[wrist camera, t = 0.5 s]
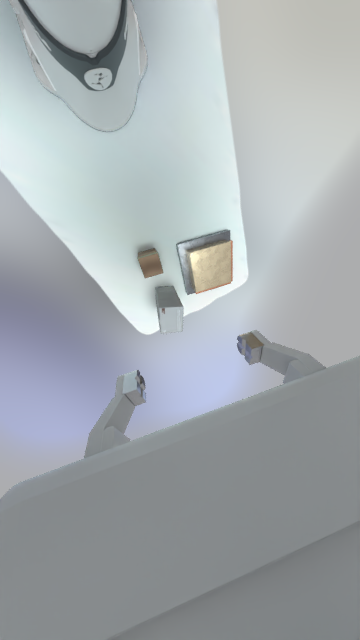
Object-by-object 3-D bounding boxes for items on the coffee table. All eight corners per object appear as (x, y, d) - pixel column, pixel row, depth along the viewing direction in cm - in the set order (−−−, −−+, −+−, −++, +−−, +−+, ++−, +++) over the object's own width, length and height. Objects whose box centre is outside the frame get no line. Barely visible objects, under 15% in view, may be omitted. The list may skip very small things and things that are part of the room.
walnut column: (137, 252, 43) (137, 258, 36) (154, 247, 43) (158, 252, 37) (143, 270, 46) (144, 278, 40) (159, 265, 46) (163, 273, 40)
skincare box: (174, 306, 55) (185, 332, 43) (154, 308, 54) (160, 336, 41) (174, 284, 51) (186, 306, 38) (152, 285, 49) (158, 309, 37)
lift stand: (176, 244, 44) (181, 247, 39) (226, 229, 45) (237, 231, 40) (186, 292, 53) (191, 299, 49) (227, 279, 55) (236, 285, 50)
